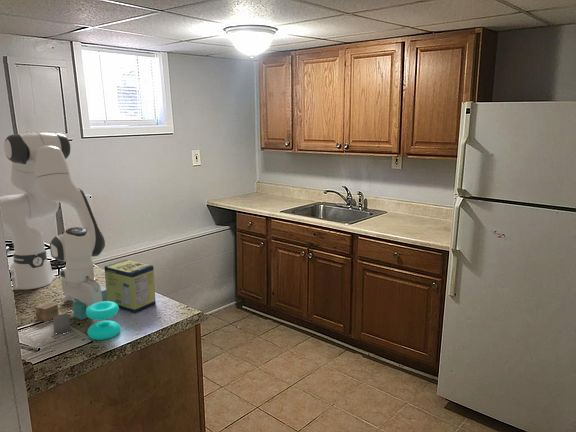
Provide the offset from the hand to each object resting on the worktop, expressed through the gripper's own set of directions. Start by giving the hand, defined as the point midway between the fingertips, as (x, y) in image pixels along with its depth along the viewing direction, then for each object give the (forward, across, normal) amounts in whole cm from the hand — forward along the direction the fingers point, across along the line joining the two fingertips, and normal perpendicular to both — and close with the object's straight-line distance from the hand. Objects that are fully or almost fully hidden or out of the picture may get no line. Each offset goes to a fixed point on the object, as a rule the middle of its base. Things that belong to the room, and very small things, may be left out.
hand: (83, 310), depth 164 cm
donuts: (+2, -19, +4) cm, 20 cm away
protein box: (+2, -5, -16) cm, 17 cm away
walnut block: (+2, +8, +9) cm, 12 cm away
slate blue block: (+2, +8, -11) cm, 14 cm away
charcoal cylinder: (+2, -6, +11) cm, 13 cm away
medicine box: (+2, +19, -8) cm, 21 cm away
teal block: (+2, 0, 0) cm, 2 cm away
